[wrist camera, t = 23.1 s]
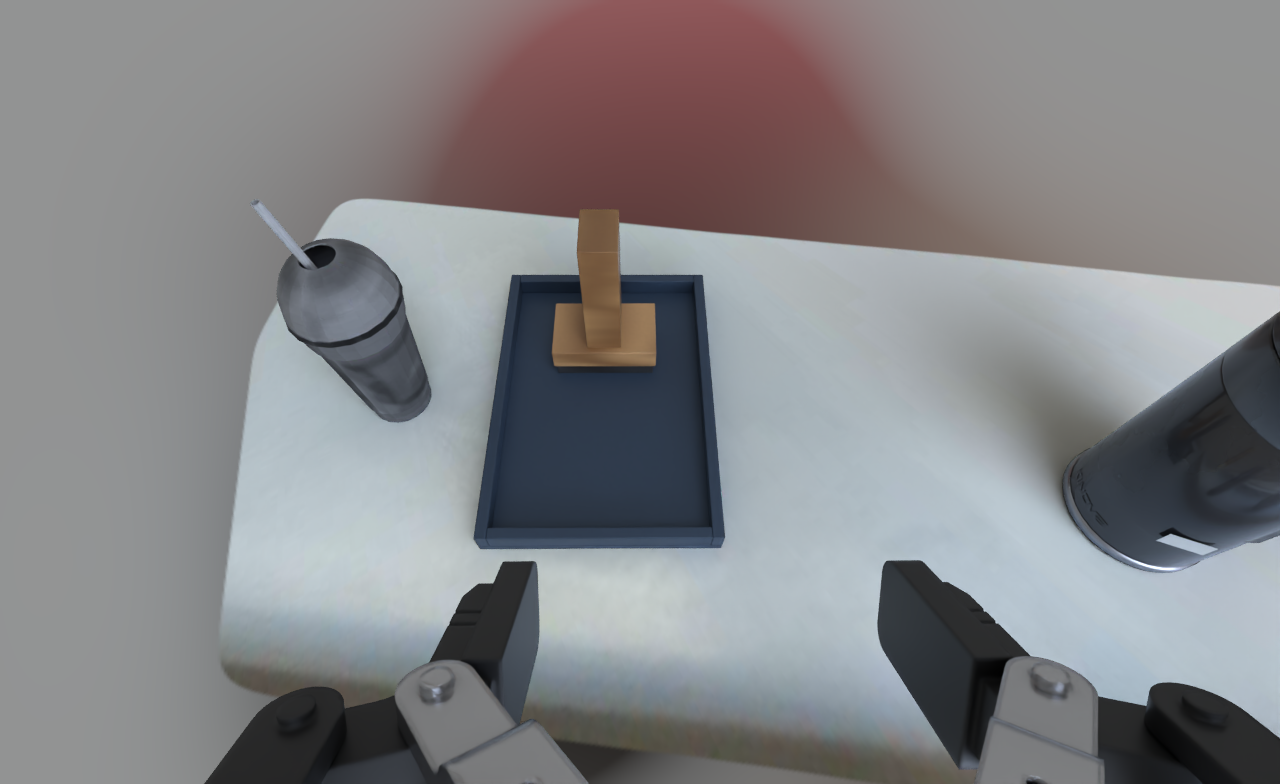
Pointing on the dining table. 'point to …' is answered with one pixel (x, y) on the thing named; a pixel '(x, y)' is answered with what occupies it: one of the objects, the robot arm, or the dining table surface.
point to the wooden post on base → (602, 309)
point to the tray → (602, 431)
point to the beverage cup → (353, 320)
